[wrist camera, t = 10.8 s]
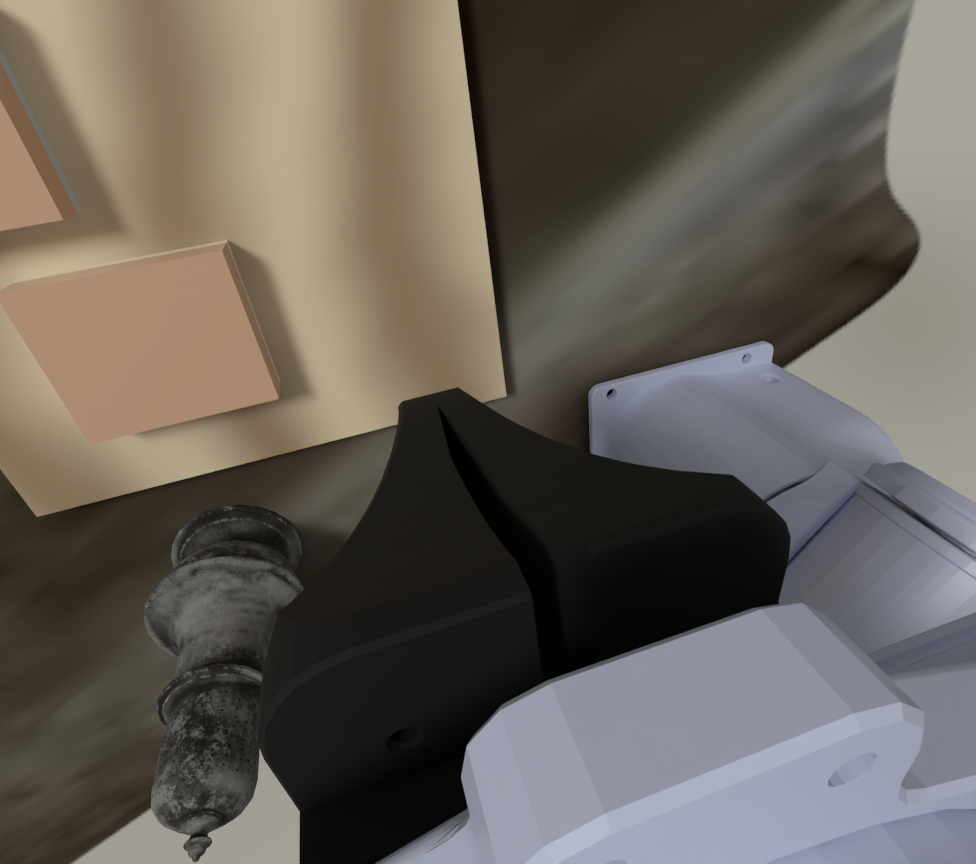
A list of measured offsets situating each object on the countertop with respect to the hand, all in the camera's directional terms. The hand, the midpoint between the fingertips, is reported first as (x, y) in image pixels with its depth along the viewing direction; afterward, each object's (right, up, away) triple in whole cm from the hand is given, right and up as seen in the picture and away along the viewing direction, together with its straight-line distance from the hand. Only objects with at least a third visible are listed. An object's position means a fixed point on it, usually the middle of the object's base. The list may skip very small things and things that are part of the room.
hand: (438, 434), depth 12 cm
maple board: (-8, +6, +6) cm, 12 cm away
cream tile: (-7, +4, +6) cm, 10 cm away
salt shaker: (-10, -5, +13) cm, 17 cm away
